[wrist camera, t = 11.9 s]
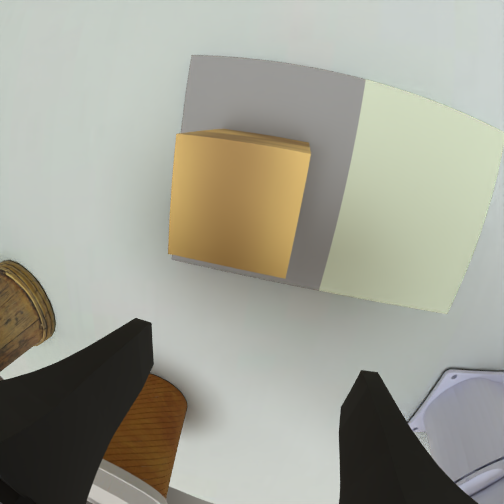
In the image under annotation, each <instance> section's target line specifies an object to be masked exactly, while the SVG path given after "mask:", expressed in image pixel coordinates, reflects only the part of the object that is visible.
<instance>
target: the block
mask: <svg viewBox="0 0 504 504" xmlns="http://www.w3.org/2000/svg"><path fill="white" fill-rule="evenodd" d="M310 157H311V151H310V145H309V143H308V142H303V141H298V140H292V139H287V138H281V137H276V136H270V135H263V134H257V133H251V132H244V131H237V130H229V129H213V130H203V131H195V132H187V133H179V134H176V144H175V154H174V165H173V177H172V190H171V205H170V222H169V244H168V254H172V255H176V256H181V257H185V258H190V259H195V260H199V261H204V262H208V263H213V264H218V265H222V266H227V267H232V268H236V269H241V270H246V271H251V272H255V273H260V274H265V275H270V276H275V277H279V278H284V279H285V278H286V274H287V269H288V265H289V260H290V256H291V251H292V246H293V242H294V237H295V232H296V227H297V223H298V218H299V213H300V208H301V203H302V198H303V193H304V188H305V183H306V178H307V173H308V168H309V162H310Z"/></svg>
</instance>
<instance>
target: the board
mask: <svg viewBox="0 0 504 504" xmlns="http://www.w3.org/2000/svg"><path fill="white" fill-rule="evenodd" d="M213 129H229V130H237V131H244V132H251V133H257V134H263V135H270V136H276V137H281V138H287V139H292V140H298V141H303V142H308V143H309V145H310V151H311V157H310V162H309V168H308V173H307V178H306V183H305V188H304V193H303V198H302V203H301V208H300V213H299V218H298V223H297V227H296V232H295V237H294V242H293V246H292V251H291V256H290V260H289V265H288V269H287V274H286V278H285V279H284V278H279V277H275V276H270V275H265V274H260V273H255V272H251V271H246V270H241V269H236V268H232V267H227V266H222V265H218V264H213V263H208V262H204V261H199V260H195V259H190V258H185V257H181V256H176V255H172V260H176V261H180V262H185V263H189V264H194V265H198V266H203V267H208V268H212V269H217V270H221V271H226V272H231V273H235V274H240V275H245V276H250V277H254V278H259V279H264V280H269V281H274V282H278V283H283V284H288V285H293V286H298V287H303V288H308V289H313V290H318V291H323V292H329V293H334V294H339V295H344V296H349V297H355V298H360V299H365V300H371V301H376V302H381V303H387V304H392V305H398V306H403V307H409V308H415V309H420V310H426V311H432V312H438V313H444V314H447V313H448V311H449V309H450V307H451V305H452V303H453V301H454V298H455V296H456V294H457V292H458V290H459V287H460V285H461V283H462V280H463V278H464V276H465V273H466V271H467V268H468V266H469V263H470V261H471V258H472V255H473V253H474V250H475V247H476V245H477V242H478V239H479V236H480V233H481V230H482V227H483V224H484V221H485V218H486V215H487V211H488V208H489V205H490V201H491V198H492V194H493V190H494V187H495V183H496V179H497V175H498V170H499V166H500V161H501V157H502V152H503V146H504V132H502V131H500V130H498V129H497V128H495V127H492V126H490V125H488V124H486V123H484V122H482V121H480V120H478V119H476V118H474V117H471V116H469V115H467V114H464V113H462V112H460V111H457V110H455V109H453V108H450V107H448V106H445V105H443V104H440V103H438V102H435V101H432V100H430V99H427V98H424V97H421V96H418V95H416V94H413V93H410V92H407V91H404V90H401V89H397V88H394V87H391V86H388V85H384V84H381V83H377V82H374V81H370V80H366V79H362V78H358V77H354V76H350V75H346V74H342V73H337V72H333V71H328V70H323V69H318V68H313V67H307V66H301V65H295V64H289V63H282V62H275V61H267V60H259V59H249V58H238V57H224V56H203V55H191V61H190V68H189V74H188V81H187V88H186V95H185V102H184V110H183V118H182V127H181V133H187V132H195V131H203V130H213Z"/></svg>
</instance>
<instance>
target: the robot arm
mask: <svg viewBox="0 0 504 504" xmlns="http://www.w3.org/2000/svg"><path fill="white" fill-rule="evenodd" d="M153 365H154V362H153V346H152V324H151V323H150V322H147V321H144V320H141V319H138V318H135V319H133V320H132V321H130V322H128V323H127V324H125V325H123V326H122V327H120V328H118V329H117V330H115V331H113V332H112V333H110V334H108V335H107V336H105V337H104V338H102V339H100V340H98V341H97V342H95V343H93V344H92V345H90V346H88V347H86V348H84V349H83V350H81V351H79V352H77V353H75V354H73V355H71V356H69V357H67V358H65V359H63V360H61V361H59V362H57V363H54V364H52V365H50V366H47V367H45V368H42V369H39V370H37V371H34V372H31V373H27V374H24V375H21V376H18V377H14V378H11V379H6V380H2V381H0V504H86V502H87V498H88V495H89V493H90V490H91V487H92V484H93V481H94V479H95V476H96V474H97V471H98V469H99V466H100V464H101V461H102V459H103V457H104V454H105V452H106V450H107V448H108V446H109V443H110V441H111V439H112V438H113V436H114V434H115V432H116V430H117V429H118V427H119V426H120V424H121V422H122V421H123V419H124V418H125V416H126V414H127V413H128V411H129V410H130V408H131V406H132V405H133V403H134V402H135V400H136V398H137V397H138V395H139V393H140V392H141V390H142V389H143V387H144V385H145V382H146V380H147V378H148V376H149V374H150V371H151V369H152V367H153ZM414 432H426V434H427V438H428V443H429V448H430V452H431V456H430V454H429V453H428V452H427V451H426V449H425V448H424V447H423V445H422V444H421V442H420V441H419V439H418V438H417V437H416V435H415V434H414ZM339 451H340V499H339V504H504V372H491V371H469V370H453V369H450V370H447V371H446V372H445V373H444V374H443V376H442V377H441V379H440V380H439V382H438V383H437V385H436V386H435V387H434V389H433V390H432V392H431V393H430V395H429V396H428V397H427V399H426V400H425V402H424V403H423V404H422V406H421V407H420V408H419V410H418V411H417V412H416V414H415V415H414V416H413V417H412V419H411V420H410V421H409V423H407V421H406V420H405V418H404V416H403V415H402V413H401V411H400V410H399V408H398V406H397V405H396V403H395V401H394V400H393V398H392V396H391V394H390V393H389V391H388V389H387V387H386V386H385V384H384V382H383V380H382V379H381V377H380V375H379V374H378V372H371V371H364V370H361V372H360V374H359V376H358V378H357V379H356V381H355V383H354V385H353V387H352V389H351V391H350V392H349V394H348V396H347V398H346V399H345V401H344V403H343V405H342V406H341V413H340V425H339Z"/></svg>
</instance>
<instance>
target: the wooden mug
mask: <svg viewBox="0 0 504 504" xmlns="http://www.w3.org/2000/svg"><path fill="white" fill-rule="evenodd" d="M54 328H55V321H54V314H53V312H52V309H51V306H50V303H49V301H48V299H47V297H46V295H45V293H44V291H43V290H42V288H41V286H40V285H39V283H38V282H37V281H36V279H35V278H34V277H33V276H32V275H31V273H29V272H28V271H27V270H26V269H25V268H23V267H22V266H20V265H18V264H16V263H14V262H11V261H9V260H8V261H3V262H1V263H0V372H1V371H2V370H3V369H4V368H6V367H7V366H8V365H9V364H11V363H12V362H13V361H14V360H16V359H17V358H18V357H20V356H21V355H22V354H24V353H25V352H26V351H27V350H29V349H30V348H31V347H33V346H38V345H39V344H41V343H42V342H44V341H45V340H47V339H48V338H50V337H51V336H52V334H53V333H54Z"/></svg>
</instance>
